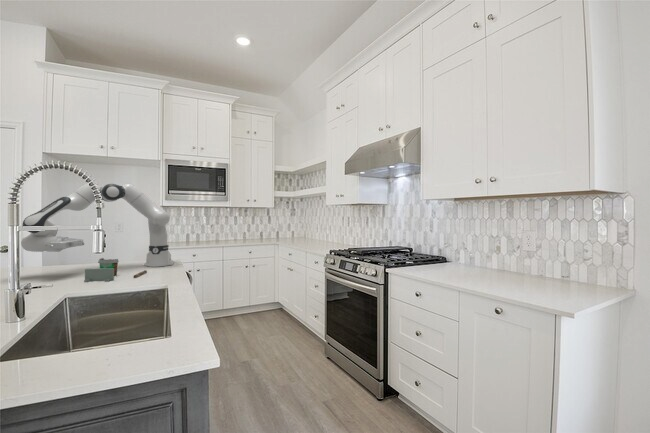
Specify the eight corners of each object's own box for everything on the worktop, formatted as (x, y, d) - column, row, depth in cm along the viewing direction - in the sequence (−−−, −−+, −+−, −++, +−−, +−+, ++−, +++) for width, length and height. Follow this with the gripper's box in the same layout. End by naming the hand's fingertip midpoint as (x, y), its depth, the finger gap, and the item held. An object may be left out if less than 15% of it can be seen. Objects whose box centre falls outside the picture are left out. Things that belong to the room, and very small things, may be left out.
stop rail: (144, 272, 198) (144, 270, 198) (146, 272, 198) (146, 270, 198) (133, 278, 182) (133, 275, 182) (135, 278, 182) (135, 275, 182)
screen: (86, 280, 174) (86, 268, 174) (114, 280, 177) (114, 268, 176) (82, 282, 171) (82, 270, 171) (110, 281, 173) (110, 269, 173)
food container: (92, 276, 186) (92, 259, 186) (102, 274, 192) (102, 257, 192) (108, 277, 182) (108, 260, 182) (118, 275, 188) (118, 258, 188)
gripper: (43, 239, 172) (71, 239, 175) (67, 237, 193) (92, 237, 195) (43, 251, 172) (71, 251, 175) (67, 247, 193) (92, 247, 195)
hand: (82, 243), depth 185 cm, fingers closed
